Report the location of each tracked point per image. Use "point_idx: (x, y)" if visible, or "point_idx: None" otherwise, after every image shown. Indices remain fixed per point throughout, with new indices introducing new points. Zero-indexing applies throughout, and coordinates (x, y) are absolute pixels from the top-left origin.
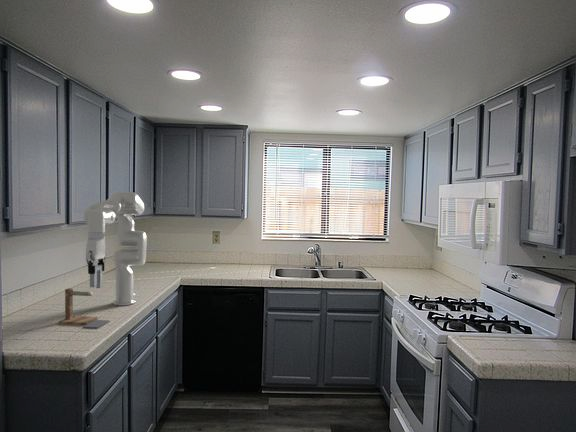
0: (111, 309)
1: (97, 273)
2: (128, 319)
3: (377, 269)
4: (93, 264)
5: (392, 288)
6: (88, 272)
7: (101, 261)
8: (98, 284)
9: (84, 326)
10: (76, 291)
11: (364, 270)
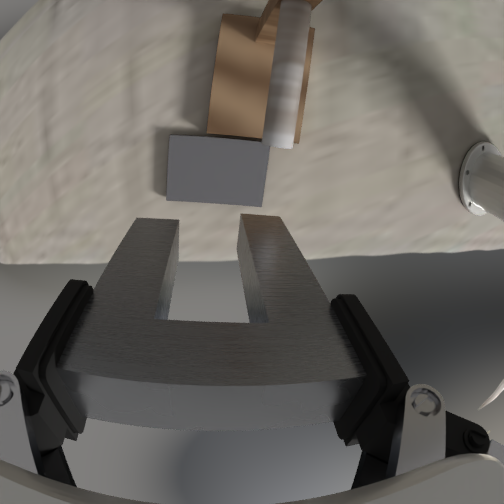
0: (427, 152)
1: (258, 304)
2: None
3: None
4: (44, 445)
5: None
6: (66, 292)
7: (375, 445)
8: (241, 249)
9: (171, 141)
10: (293, 34)
11: None
